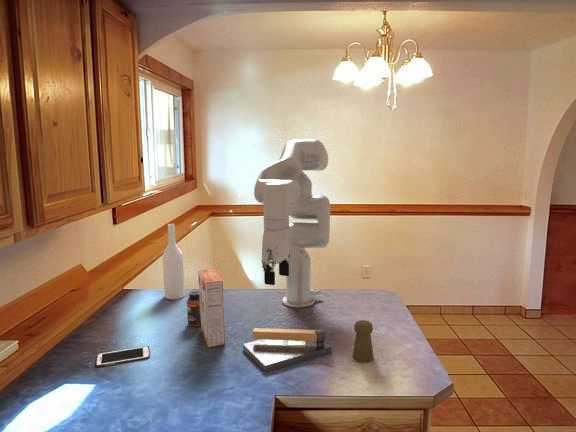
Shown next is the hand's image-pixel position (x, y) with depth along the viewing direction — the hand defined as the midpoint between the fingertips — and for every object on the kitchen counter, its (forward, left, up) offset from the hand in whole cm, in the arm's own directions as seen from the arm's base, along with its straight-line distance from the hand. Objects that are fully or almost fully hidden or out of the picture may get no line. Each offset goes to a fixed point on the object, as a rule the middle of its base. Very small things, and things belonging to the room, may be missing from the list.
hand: (277, 279), depth 131 cm
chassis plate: (0, +6, -21) cm, 21 cm away
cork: (-17, +20, -21) cm, 34 cm away
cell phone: (+43, -16, -21) cm, 51 cm away
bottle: (+16, -60, -21) cm, 65 cm away
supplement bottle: (+17, -28, -21) cm, 39 cm away
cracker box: (+16, -15, -21) cm, 30 cm away
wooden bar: (-1, +6, -17) cm, 18 cm away
